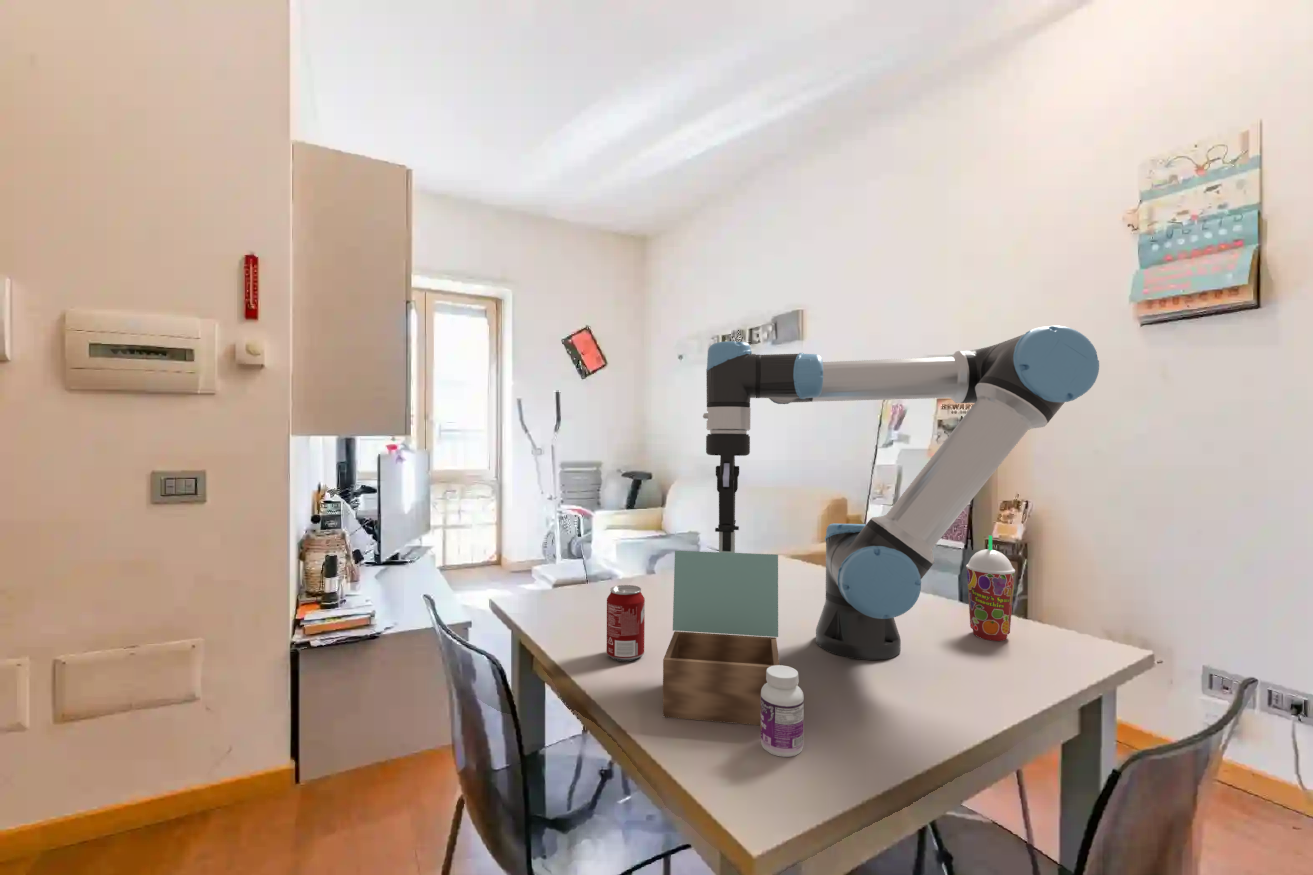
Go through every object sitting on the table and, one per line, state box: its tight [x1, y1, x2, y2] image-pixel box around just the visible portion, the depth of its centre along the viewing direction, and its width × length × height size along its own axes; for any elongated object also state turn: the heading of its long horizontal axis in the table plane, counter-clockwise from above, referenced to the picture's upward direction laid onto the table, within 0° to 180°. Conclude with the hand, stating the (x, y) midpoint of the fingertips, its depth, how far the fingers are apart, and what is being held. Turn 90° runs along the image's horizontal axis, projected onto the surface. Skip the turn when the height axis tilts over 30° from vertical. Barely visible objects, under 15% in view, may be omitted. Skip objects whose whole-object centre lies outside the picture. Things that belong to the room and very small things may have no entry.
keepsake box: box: [662, 631, 780, 726], centre depth 85 cm, size 16×12×8 cm
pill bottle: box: [760, 664, 805, 758], centre depth 73 cm, size 5×5×10 cm
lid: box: [672, 550, 779, 638], centre depth 93 cm, size 17×13×1 cm
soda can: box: [605, 584, 646, 662], centre depth 103 cm, size 7×7×12 cm
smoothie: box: [965, 535, 1016, 642], centre depth 114 cm, size 8×8×20 cm
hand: (726, 568), depth 99 cm, fingers closed
